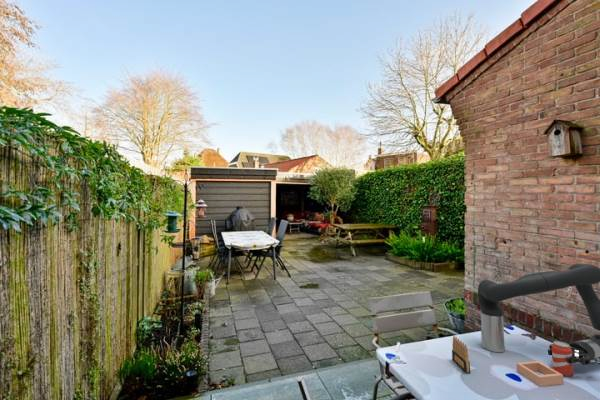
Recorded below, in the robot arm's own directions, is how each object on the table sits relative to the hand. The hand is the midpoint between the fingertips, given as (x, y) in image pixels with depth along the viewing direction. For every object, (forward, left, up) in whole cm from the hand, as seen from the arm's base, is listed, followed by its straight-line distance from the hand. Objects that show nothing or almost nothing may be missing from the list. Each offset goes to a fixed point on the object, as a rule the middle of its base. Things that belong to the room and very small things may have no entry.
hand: (558, 356), depth 118 cm
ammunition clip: (-34, -18, -7) cm, 39 cm away
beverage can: (+1, +2, -7) cm, 8 cm away
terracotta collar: (-7, -8, -7) cm, 13 cm away
